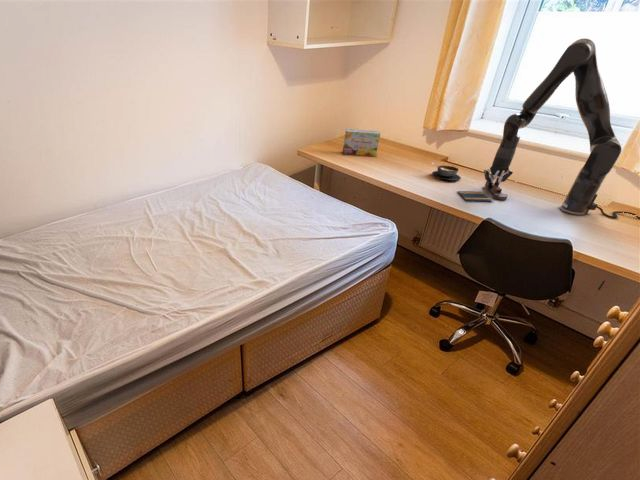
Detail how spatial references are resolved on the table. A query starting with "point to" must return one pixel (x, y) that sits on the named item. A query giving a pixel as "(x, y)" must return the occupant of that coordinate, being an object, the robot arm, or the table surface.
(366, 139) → the snack box
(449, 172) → the black cup and saucer
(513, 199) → the table surface
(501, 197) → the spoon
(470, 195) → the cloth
